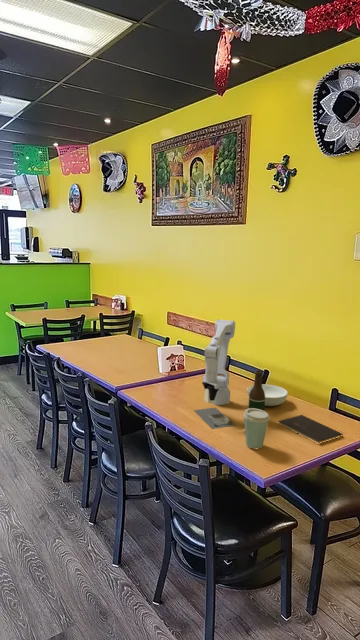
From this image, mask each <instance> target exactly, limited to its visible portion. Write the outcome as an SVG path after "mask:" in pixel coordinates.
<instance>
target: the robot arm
mask: <svg viewBox="0 0 360 640" xmlns="http://www.w3.org/2000/svg"><path fill="white" fill-rule="evenodd" d="M214 330H215V334H214V336H212V337H211V340H210V342H209V344H208V345H207V346H206V347H205V349H204V362H205V374H204V375H203V376H202V377H203V378H202V386H203V388H204V390H205V388H208V390H209V397H210V400H215V397H216V403H211V404H212V405H215V406H223V405H227V404H228V405H229V404H230V402H231V390H230V388H229V386H230V385H229V383H230V374H229V372H228V371H227V369H226V364H227V363H226V362H227V357H228V352H229V345H230V340H231V339H232V338H234V336H235V333H236V331H235V330H236V322H235V320H228V319H227V320H226V319H216V320H215V322H214Z"/></svg>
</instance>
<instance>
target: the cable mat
mask: <svg viewBox="0 0 360 640" xmlns="http://www.w3.org/2000/svg"><path fill="white" fill-rule="evenodd" d="M193 412H195V414H197V415H198V416H199V418H201V420H202V421H203V422H204V423H206V425H208V427H209V428H211V430H215V429H223V428H230V427H235V426H237V425H236V424H235V423H234V422H232V420H229V424H225V425H218V426H214V425H213V424H212V423H211V422H210V421H209V420H208V415H211V416H212V417H213V418H221V413H222V412H221V411H220V410H219V409H218V408H217V407H209V408H208V407H207V408H201V409H200V408H199V409H193Z"/></svg>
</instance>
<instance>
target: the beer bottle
mask: <svg viewBox="0 0 360 640" xmlns="http://www.w3.org/2000/svg"><path fill="white" fill-rule="evenodd" d="M263 373H264V372H263V371H262V370H255V372H254V375H255V376H254V382H253V385H254V386H253V388H252V389H251V391H250V394H249V397H248V407H247V409H249V408H255V409H260V410H263V411H265V407H266V406H265V393H264V390H263V389H262V384H263Z"/></svg>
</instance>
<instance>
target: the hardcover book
mask: <svg viewBox="0 0 360 640" xmlns="http://www.w3.org/2000/svg"><path fill="white" fill-rule="evenodd" d="M278 422H279V424H281V425H283V426H285V427H287V428H289V429H291V430H293V431H295V432H297V433H299V434H301V435H303V436H305V437H307V438H310V439H312V440H314V441H316V442H318V443H320V442H323V441H326V440H329V439H333V438H336V437H338V436H341V435H343V436H344V434H343V432H340V431H338V430H336V429H333V428H331V427H329V426H327V425H325V424H323V423H320V422H319V421H316V420H314V419H312V418H309V417H307V416H305V415H303V414H300V415H296V416H292V417H288V418H285V419H281V420H278ZM281 425H280V426H281ZM283 426H282V427H283ZM285 427H284V428H285ZM287 428H286V429H287ZM289 429H288V430H289ZM291 430H290V431H291ZM293 431H292V432H293ZM295 432H294V433H295ZM297 433H296V434H297ZM299 434H298V435H299ZM301 435H300V436H301Z"/></svg>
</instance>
